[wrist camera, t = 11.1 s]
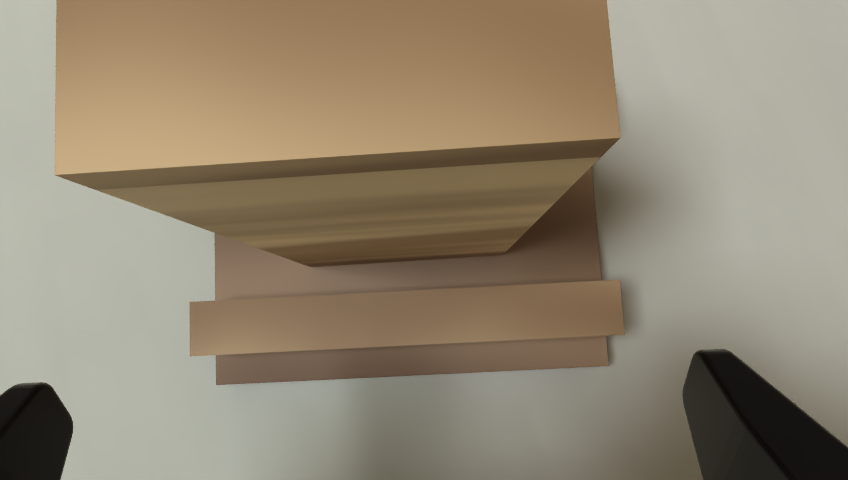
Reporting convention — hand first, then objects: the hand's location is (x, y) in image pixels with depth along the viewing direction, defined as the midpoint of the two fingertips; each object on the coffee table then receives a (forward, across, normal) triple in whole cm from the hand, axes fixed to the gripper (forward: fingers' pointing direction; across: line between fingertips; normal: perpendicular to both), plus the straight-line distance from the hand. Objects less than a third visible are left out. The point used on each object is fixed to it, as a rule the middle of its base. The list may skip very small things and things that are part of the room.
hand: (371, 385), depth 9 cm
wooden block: (+10, 0, +4) cm, 11 cm away
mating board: (+11, 0, +5) cm, 12 cm away
